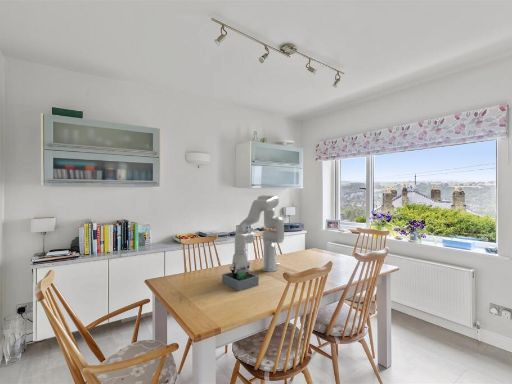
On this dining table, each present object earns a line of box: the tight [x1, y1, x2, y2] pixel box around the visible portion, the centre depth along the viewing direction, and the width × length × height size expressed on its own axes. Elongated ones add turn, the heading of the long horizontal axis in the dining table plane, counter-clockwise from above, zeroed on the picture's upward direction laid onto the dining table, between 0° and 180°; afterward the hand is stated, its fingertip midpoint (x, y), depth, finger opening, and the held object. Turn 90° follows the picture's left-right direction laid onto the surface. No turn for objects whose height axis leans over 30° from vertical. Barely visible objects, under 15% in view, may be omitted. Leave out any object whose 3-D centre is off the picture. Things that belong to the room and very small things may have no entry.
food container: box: [235, 267, 250, 281], centre depth 184 cm, size 12×6×10 cm, turn 60°
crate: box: [221, 271, 259, 292], centre depth 184 cm, size 17×19×6 cm
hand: (240, 277), depth 184 cm, fingers open, 8 cm apart
